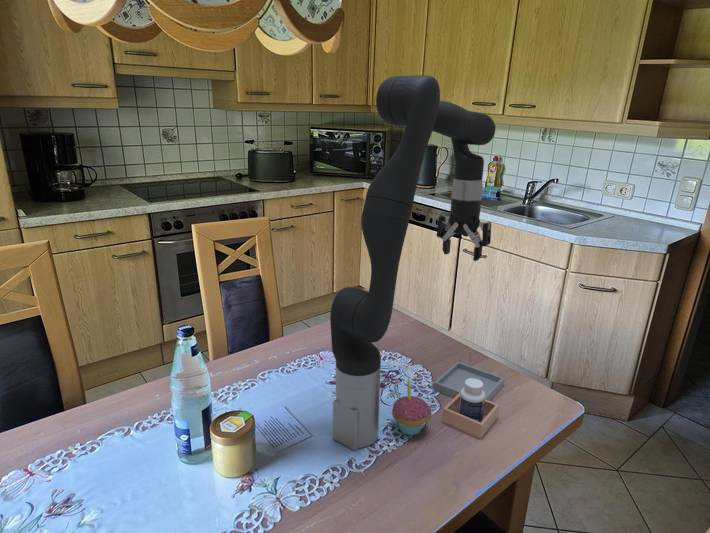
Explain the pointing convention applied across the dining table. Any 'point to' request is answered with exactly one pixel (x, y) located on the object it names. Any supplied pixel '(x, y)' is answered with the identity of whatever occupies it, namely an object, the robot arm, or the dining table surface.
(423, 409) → the cupcake
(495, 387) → the tray
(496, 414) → the holder
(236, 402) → the dining table surface
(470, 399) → the pill bottle
